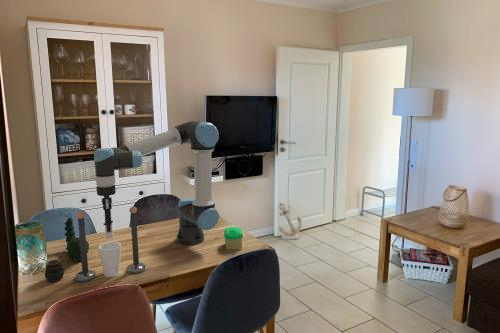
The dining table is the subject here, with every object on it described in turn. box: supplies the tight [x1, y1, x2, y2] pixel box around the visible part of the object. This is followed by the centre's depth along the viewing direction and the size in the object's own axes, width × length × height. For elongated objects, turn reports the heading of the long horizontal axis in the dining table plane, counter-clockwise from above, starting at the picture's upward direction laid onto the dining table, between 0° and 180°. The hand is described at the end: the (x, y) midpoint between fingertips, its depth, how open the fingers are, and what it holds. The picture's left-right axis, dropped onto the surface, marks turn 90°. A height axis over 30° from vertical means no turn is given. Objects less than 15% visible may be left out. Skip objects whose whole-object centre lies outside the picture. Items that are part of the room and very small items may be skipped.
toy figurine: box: [63, 216, 90, 262], centre depth 183 cm, size 9×19×25 cm
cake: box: [223, 226, 244, 250], centre depth 197 cm, size 10×11×10 cm
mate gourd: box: [44, 258, 65, 283], centre depth 161 cm, size 7×8×10 cm
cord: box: [129, 206, 140, 266], centre depth 168 cm, size 3×3×28 cm
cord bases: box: [74, 262, 146, 283], centre depth 167 cm, size 29×8×2 cm, turn 111°
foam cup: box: [97, 241, 123, 278], centre depth 166 cm, size 10×9×13 cm
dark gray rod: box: [76, 211, 89, 274], centre depth 161 cm, size 3×3×28 cm
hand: (109, 238), depth 164 cm, fingers closed
